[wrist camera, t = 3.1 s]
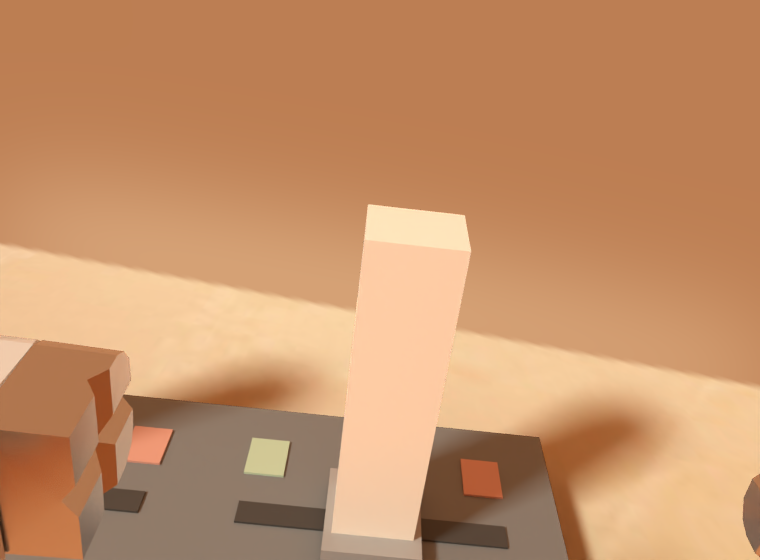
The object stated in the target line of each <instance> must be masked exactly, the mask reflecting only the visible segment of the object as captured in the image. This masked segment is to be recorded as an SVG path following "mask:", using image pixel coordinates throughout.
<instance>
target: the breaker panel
mask: <svg viewBox="0 0 760 560" xmlns="http://www.w3.org/2000/svg"><path fill="white" fill-rule="evenodd" d="M122 397H123V398H124V399H125V400H126V401H127V403H128V404H129V405H130V406H131V407H132V408H133V433H132V443H131V447H130V451H129V455H128V459H127V463H126V466H125V469H124V471H123V473H122V476H121V478H120V480H119V483H118V485H116V486H114V487H113V488H111V489H110V490H108V491H107V492H105V493H104V494H103V499H104V512H105V514H104V516H103V518H102V520H101V522H100V524H99V526H98V529H97V531H96V533H95V535H94V537H93V539H92V542H91V544H90V546H89V548H88V550H87V552H86V554H85V557H84V559H83V560H320V555H321V546H322V538H323V529H324V520H325V512H326V503H327V494H328V486H329V477H330V468H336V469H338V466H339V457H340V448H341V439H342V430H343V422H344V417H336V416H326V415H316V414H307V413H297V412H287V411H278V410H268V409H258V408H248V407H239V406H229V405H219V404H210V403H200V402H190V401H180V400H171V399H161V398H151V397H141V396H132V395H123V396H122ZM420 506H421V539H422V560H568V556H567V551H566V547H565V543H564V539H563V535H562V531H561V526H560V522H559V518H558V514H557V510H556V506H555V501H554V497H553V493H552V489H551V485H550V481H549V476H548V472H547V468H546V464H545V460H544V456H543V451H542V447H541V443H540V439H539V437H530V436H521V435H511V434H501V433H491V432H482V431H472V430H462V429H453V428H443V427H436V430H435V435H434V440H433V445H432V450H431V455H430V460H429V465H428V470H427V475H426V480H425V485H424V490H423V495H422V500H421V505H420ZM5 556H6V557H5V559H4V560H82V559H69V558H56V557H42V556H29V555H16V554H5Z"/></svg>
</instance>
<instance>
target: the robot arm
mask: <svg viewBox="0 0 760 560" xmlns="http://www.w3.org/2000/svg"><path fill="white" fill-rule="evenodd" d="M130 381H131V374H130V363H129V357H128V356H127V355H126V353H125V352H124V351H117V350H110V349H103V348H95V347H88V346H81V345H73V344H66V343H59V342H52V341H44V340H42V341H39V340H35V339H27V338H19V337H11V336H2V335H0V560H4V559H5V557H6V556H5V554H16V555H29V556H42V557H56V558H69V559H82V560H83V559H84V557H85V554H86V552H87V550H88V548H89V546H90V544H91V542H92V539H93V537H94V535H95V533H96V531H97V529H98V526H99V524H100V522H101V520H102V518H103V516H104V514H105V512H104V499H103V494H104V493H105V492H107V491H108V490H110V489H111V488H113V487H114V486H116V485H118V483H119V480H120V478H121V476H122V473H123V471H124V469H125V466H126V463H127V459H128V455H129V451H130V447H131V443H132V433H133V408H132V407H131V406H130V405H129V404H128V403H127V401H126V400H125V399H124V398H123V397H122V396H123V395H124V393H125V391H126V389H127V387H128V385H129V383H130ZM743 522H744V527H745V531H746V535H747V538H748V540H749V542H750V544H751V546H752V548H753V550H754V552H755V553H756V554H757V555H758V556H759V557H760V474H759V475H757V476H756V477H754V478H753V479H752V481H751V484H750V486H749V488H748V490H747V492H746V494H745V496H744V504H743Z"/></svg>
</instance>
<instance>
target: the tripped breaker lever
mask: <svg viewBox="0 0 760 560" xmlns="http://www.w3.org/2000/svg"><path fill="white" fill-rule="evenodd" d="M470 254H471V248H470V243H469V237H468V232H467V226H466V221H465V216H464V215H457V214H449V213H440V212H431V211H430V212H429V211H422V210H413V209H404V208H396V207H387V206H378V205H368V211H367V220H366V228H365V237H364V246H363V255H362V264H361V273H360V282H359V290H358V299H357V308H356V316H355V325H354V334H353V343H352V351H351V360H350V369H349V378H348V386H347V395H346V404H345V413H344V422H343V430H342V439H341V448H340V457H339V466H338V469H336V468H330V477H329V486H328V494H327V503H326V512H325V520H324V529H323V538H322V546H321V555H320V560H422V539H421V506H420V505H421V500H422V495H423V490H424V485H425V480H426V475H427V470H428V465H429V460H430V455H431V450H432V445H433V440H434V435H435V430H436V425H437V420H438V415H439V410H440V405H441V400H442V395H443V390H444V385H445V380H446V375H447V370H448V365H449V360H450V355H451V350H452V345H453V340H454V335H455V330H456V325H457V320H458V315H459V309H460V305H461V300H462V295H463V289H464V285H465V280H466V275H467V270H468V265H469V260H470Z"/></svg>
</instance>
